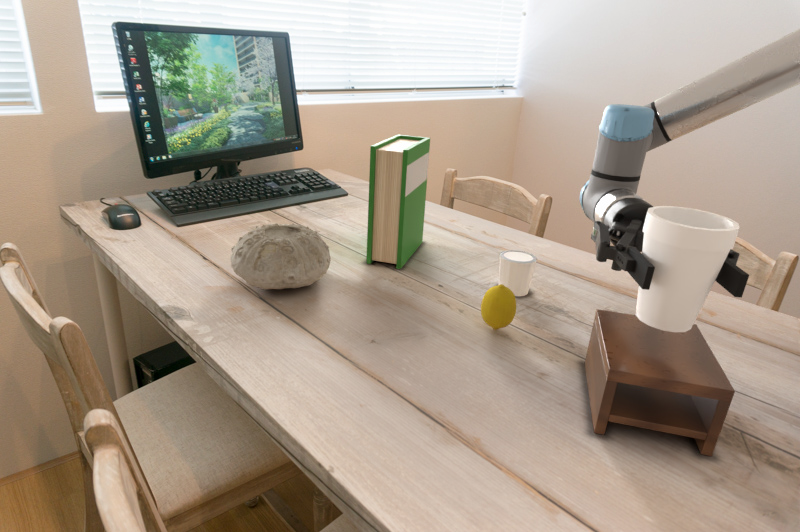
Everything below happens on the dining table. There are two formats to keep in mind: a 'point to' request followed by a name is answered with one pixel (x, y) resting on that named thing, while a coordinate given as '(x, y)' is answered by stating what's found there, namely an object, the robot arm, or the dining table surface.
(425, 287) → the dining table surface
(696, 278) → the foam cup
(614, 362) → the shelf
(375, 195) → the hardback book
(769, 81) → the robot arm
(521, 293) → the white jar candle
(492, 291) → the lemon
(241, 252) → the decorative shell
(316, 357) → the dining table surface
